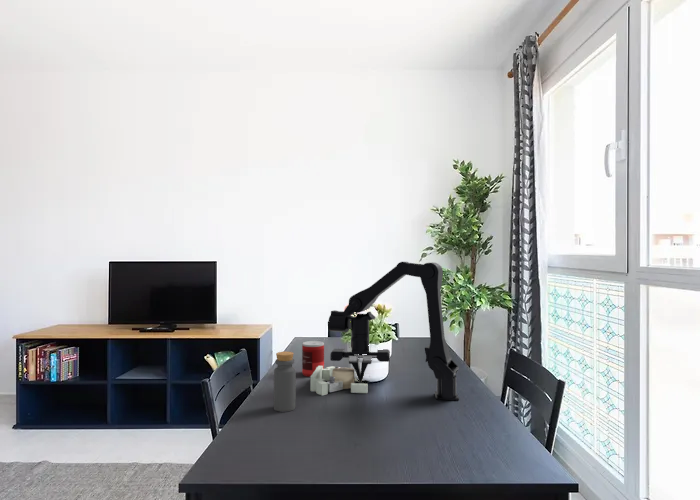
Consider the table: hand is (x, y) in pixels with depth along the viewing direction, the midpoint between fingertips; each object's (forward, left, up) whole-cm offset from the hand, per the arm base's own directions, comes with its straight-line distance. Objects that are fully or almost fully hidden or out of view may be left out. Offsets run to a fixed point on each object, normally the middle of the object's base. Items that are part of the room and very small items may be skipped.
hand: (360, 382), depth 142 cm
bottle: (-23, +19, -2) cm, 30 cm away
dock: (0, +6, -1) cm, 6 cm away
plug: (0, +6, -1) cm, 6 cm away
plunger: (+6, +8, -1) cm, 10 cm away
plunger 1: (-6, +8, -1) cm, 10 cm away
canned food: (+13, +18, -2) cm, 22 cm away
